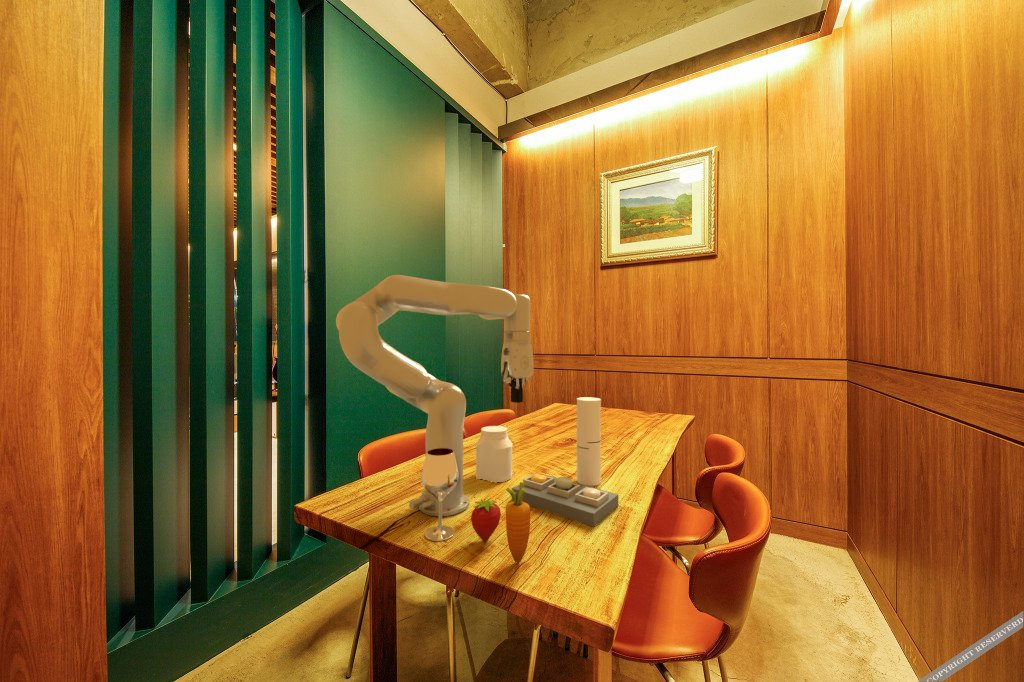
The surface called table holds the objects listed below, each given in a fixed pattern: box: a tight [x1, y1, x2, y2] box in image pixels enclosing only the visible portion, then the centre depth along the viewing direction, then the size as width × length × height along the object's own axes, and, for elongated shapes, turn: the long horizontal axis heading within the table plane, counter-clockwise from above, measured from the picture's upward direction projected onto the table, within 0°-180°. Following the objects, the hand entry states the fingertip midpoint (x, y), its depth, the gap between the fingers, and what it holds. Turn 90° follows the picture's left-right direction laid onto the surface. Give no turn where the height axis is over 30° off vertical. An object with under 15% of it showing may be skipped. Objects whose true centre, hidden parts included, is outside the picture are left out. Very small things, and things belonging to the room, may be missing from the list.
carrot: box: [505, 481, 531, 564], centre depth 71 cm, size 5×5×15 cm
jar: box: [475, 425, 513, 484], centre depth 118 cm, size 12×10×15 cm
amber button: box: [530, 473, 546, 484], centre depth 103 cm, size 4×4×2 cm
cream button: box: [583, 487, 600, 499], centre depth 93 cm, size 4×4×2 cm
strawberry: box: [470, 494, 502, 543], centre depth 79 cm, size 6×8×10 cm
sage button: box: [555, 476, 573, 489], centre depth 98 cm, size 4×4×2 cm
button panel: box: [511, 473, 619, 528], centre depth 98 cm, size 14×24×4 cm, turn 52°
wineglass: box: [420, 448, 459, 542], centre depth 82 cm, size 8×8×18 cm
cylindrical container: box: [576, 396, 602, 487], centre depth 114 cm, size 7×7×25 cm
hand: (516, 401), depth 107 cm, fingers closed
